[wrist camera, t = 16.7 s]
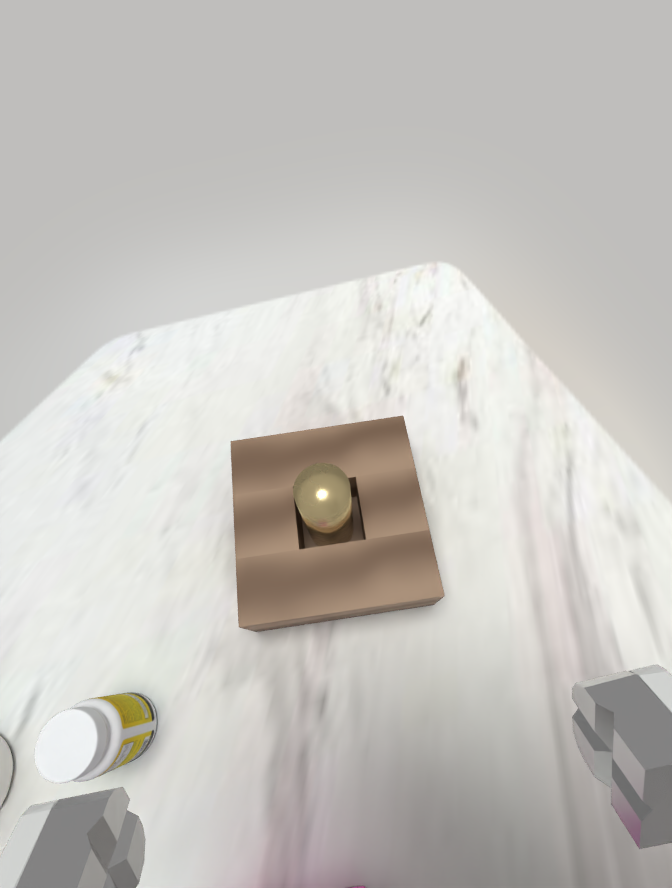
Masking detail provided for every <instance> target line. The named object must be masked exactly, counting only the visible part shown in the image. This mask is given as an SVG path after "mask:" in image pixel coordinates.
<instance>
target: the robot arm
mask: <svg viewBox="0 0 672 888" xmlns="http://www.w3.org/2000/svg"><path fill="white" fill-rule="evenodd" d="M572 699H573V701H574V702H575V704H576V705H577V706H578V710H577V711H576V713H575V714H574V715H573V717H572V721H573V732H574V736H575V739H576V742H577V745H578V748H579V750H580V752H581V754H582V757H583V759H584V761H585V763H586V764H587V766H588V767H589V769H590V771H591V772H592V774H593V776H594V777H595V778H597V779H598V780H600V781H602V782H603V783H605V784H606V785H608V786H609V787H611V805H612V806H613V808H614V809H615V811H616V813H617V814H618V816H619V817H620V819H621V821H622V822H623V824H624V825H625V827H626V828H627V830H628V832H629V833H630V835H631V836H632V838H633V840H634V841H635V843H636V844H637V846H638V847H639V849H642V848H647V847H652V846H657V845H662V844H667V843H672V675H671V674H670V673H669V672H668V671H667V670H666V669H664V668H663V667H661V666H659V665H652V666H647V667H643V668H639V669H635V670H631V671H623V672H619V673H615V674H610V675H606V676H602V677H598V678H594V679H590V680H586V681H582V682H578V683H575V685H574V686H573V688H572ZM129 801H130V798H129V797H128V795H127V793H126V791H125V790H124V788H123V787H120V788H115V789H110V790H105V791H100V792H95V793H90V794H85V795H80V796H75V797H70V798H65V799H59V800H55V801H50V802H45V803H41V804H36V805H32V806H30V807H29V808H28V809H27V810H26V811H25V812H24V814H23V815H22V816H21V817H20V819H19V821H18V823H17V825H16V827H15V828H14V830H13V832H12V834H11V836H10V838H9V840H8V842H7V844H6V846H5V848H4V850H3V852H2V854H1V856H0V888H136V886H137V885H138V884H139V881H140V877H141V873H142V868H143V864H144V855H145V835H144V829H143V825H142V823H141V821H140V818H139V816H137V815H135V814H133V813H131V812H129V811H127V808H128V804H129Z"/></svg>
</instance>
